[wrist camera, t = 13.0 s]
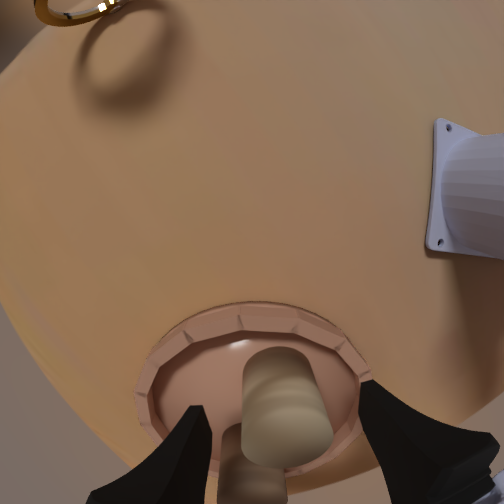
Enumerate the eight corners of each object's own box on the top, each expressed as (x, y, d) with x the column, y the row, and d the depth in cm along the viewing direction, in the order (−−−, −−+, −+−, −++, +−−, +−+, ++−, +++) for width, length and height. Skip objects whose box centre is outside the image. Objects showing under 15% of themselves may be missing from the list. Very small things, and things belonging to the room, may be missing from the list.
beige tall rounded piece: (291, 333, 15) (310, 400, 10) (322, 380, 16) (345, 446, 10) (229, 366, 15) (222, 436, 10) (264, 408, 16) (270, 476, 11)
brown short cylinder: (269, 415, 16) (275, 482, 11) (286, 447, 17) (295, 507, 12) (212, 428, 17) (204, 492, 11) (235, 459, 17) (233, 517, 12)
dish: (387, 306, 16) (402, 319, 14) (333, 460, 19) (338, 477, 17) (135, 288, 15) (122, 301, 13) (156, 452, 18) (151, 470, 16)
